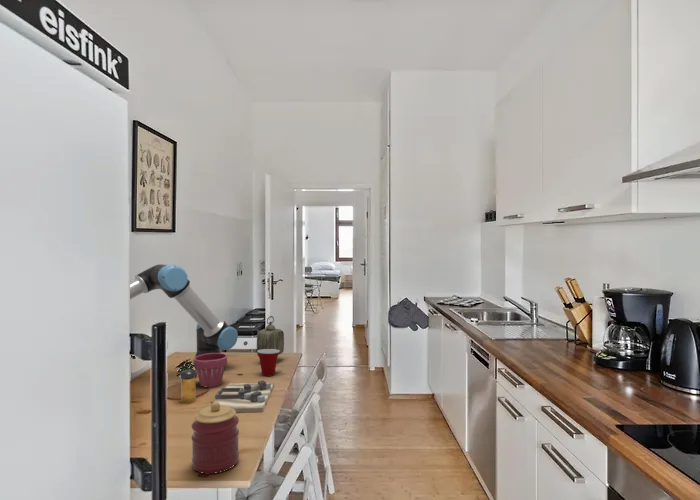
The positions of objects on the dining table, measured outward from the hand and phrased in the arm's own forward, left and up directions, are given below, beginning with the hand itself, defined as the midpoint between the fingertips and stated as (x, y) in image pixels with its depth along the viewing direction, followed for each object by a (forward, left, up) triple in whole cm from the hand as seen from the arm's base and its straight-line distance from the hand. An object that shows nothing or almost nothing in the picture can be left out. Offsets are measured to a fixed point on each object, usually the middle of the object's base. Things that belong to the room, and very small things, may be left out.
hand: (161, 348), depth 172 cm
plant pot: (-21, +14, -22) cm, 33 cm away
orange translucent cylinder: (0, +11, -21) cm, 24 cm away
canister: (+51, +36, -22) cm, 66 cm away
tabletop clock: (-57, +36, -22) cm, 71 cm away
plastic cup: (-35, +38, -22) cm, 56 cm away
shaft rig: (-2, +33, -21) cm, 39 cm away
